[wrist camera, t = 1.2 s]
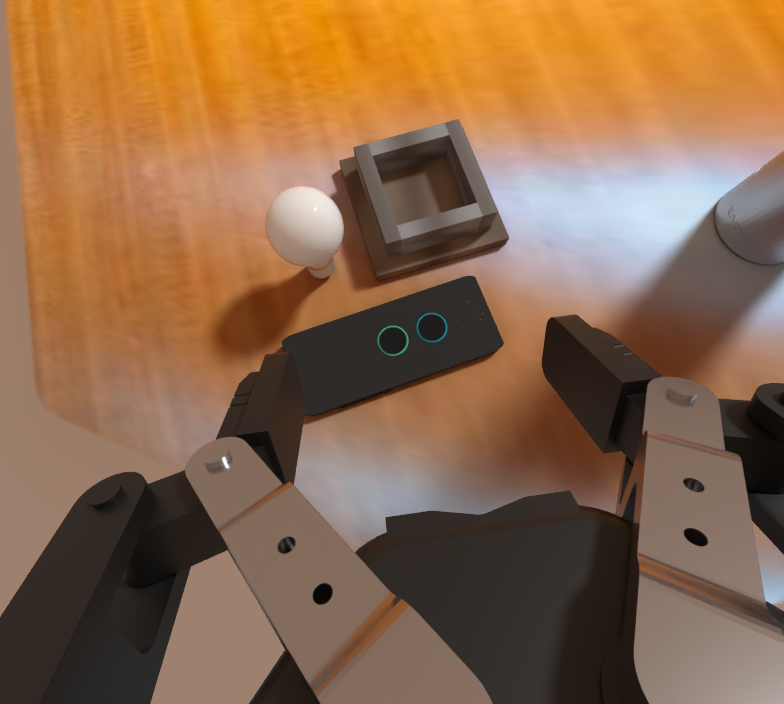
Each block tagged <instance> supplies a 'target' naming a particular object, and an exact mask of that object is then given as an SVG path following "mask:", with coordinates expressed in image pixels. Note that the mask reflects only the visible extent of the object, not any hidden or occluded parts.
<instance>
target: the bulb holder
mask: <svg viewBox="0 0 784 704" xmlns="http://www.w3.org/2000/svg"><path fill="white" fill-rule="evenodd" d="M354 154H355V156H354V157H351V158H347V159H343V160H340V161H339V162H340V167H341V171H342V174H343V177H344V180H345V183H346V186H347V189H348V192H349V195H350V198H351V201H352V205H353V208H354V211H355V214H356V217H357V220H358V223H359V226H360V229H361V232H362V235H363V238H364V241H365V244H366V247H367V250H368V254H369V257H370V260H371V263H372V266H373V269H374V272H375V275H376V278H377V281H380V280H384V279H387V278H390V277H394V276H397V275H401V274H404V273H408V272H411V271H414V270H418V269H421V268H425V267H428V266H431V265H435V264H438V263H442V262H445V261H448V260H452V259H455V258H459V257H462V256H466V255H469V254H472V253H476V252H479V251H483V250H486V249H489V248H493V247H496V246H500V245H503V244H506V242H507V241H508V239H509V236H508V234H507V231H506V229H505V227H504V224H503V222H502V220H501V217H500V215H499V212H498V210H497V208H496V205H495V203H494V201H493V198H492V196H491V194H490V191H489V189H488V187H487V184H486V182H485V179H484V177H483V175H482V172H481V170H480V168H479V165H478V163H477V161H476V158H475V156H474V153H473V151H472V149H471V146H470V144H469V142H468V139H467V137H466V135H465V132H464V130H463V127H462V126H461V124H460V121H459V119H457V120H453V121H450V122H446V123H442V124H438V125H435V126H431V127H427V128H424V129H420V130H416V131H412V132H409V133H405V134H401V135H398V136H394V137H390V138H386V139H383V140H379V141H375V142H372V143H368V144H364V145H360V146H357V147H354Z"/></svg>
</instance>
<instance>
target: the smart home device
mask: <svg viewBox="0 0 784 704" xmlns="http://www.w3.org/2000/svg"><path fill="white" fill-rule="evenodd" d="M503 344H504V343H503V340H502V338H501V336H500V333H499V331H498V329H497V326H496V324H495V322H494V319H493V317H492V315H491V312H490V310H489V308H488V306H487V303H486V301H485V299H484V296H483V294H482V292H481V289H480V287H479V285H478V283H477V280H476V278H475V277H474V276H465V277H462V278H459V279H456V280H453V281H450V282H447V283H444V284H441V285H438V286H435V287H432V288H429V289H426V290H423V291H420V292H417V293H414V294H411V295H408V296H405V297H402V298H399V299H396V300H393V301H390V302H387V303H385V304H382V305H379V306H376V307H373V308H370V309H367V310H364V311H361V312H358V313H355V314H352V315H349V316H346V317H343V318H340V319H337V320H334V321H331V322H328V323H325V324H322V325H319V326H316V327H313V328H310V329H307V330H304V331H301V332H298V333H295V334H293V335H290V336H288V337H286V338H285V339H284V340H283V341H282V345H283V350H284V352H289V351H290V352H292V354H293V356H294V360H295V363H296V367H297V370H298V374H299V378H300V381H301V385H302V389H303V392H304V398H305V414H304V415H307V416H316V415H320V414H323V413H325V412H328V411H331V410H334V409H337V408H340V407H341V408H344V407H346V406H349V405H352V404H355V403H358V402H360V401H363V400H366V398H367V399H369V398H372V397H375V396H377V395H380V394H383V393H386V392H389V391H391V389H393V388H396V387H399V386H402V385H404V384H407V383H410V382H413V381H416V380H419V379H421V378H424V377H427V376H430V375H433V374H436V373H438V372H441V371H444V370H447V369H450V368H452V367H455V366H458V365H461V364H464V363H467V362H469V361H472V360H475V359H478V358H481V357H484V356H486V355H489V354H492V353H494V352H496V351H497V350H498V349H500V348H501V347H502V346H503Z"/></svg>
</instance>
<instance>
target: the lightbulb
mask: <svg viewBox="0 0 784 704" xmlns="http://www.w3.org/2000/svg"><path fill="white" fill-rule="evenodd" d="M265 229H266V234H267V238H268V240H269V242H270V244H271V246H272V248H273V249H274V250H275V252H276V253H277V254H278V255H279V256H280V257H281V258H283V259H284V260H286V261H287V262H289V263H291V264H294V265H297V266H302V267H307V268H308V270H309V272H310V273H311V275H313V276H314V277H316V278H326V277H328V276H330V275H331V274H332V272H333V271H334V268H335V264H334V260H333V256H334V255H335V254H336V252H337V251H338V249H339V248H340V245H341V243H342V240H343V235H344V224H343V219H342V215H341V213H340V210H339V209H338V207H337V205H336V204H335V202H334V201H333V200H332V199H331V198H330V197H329V196H328V195H326V194H325V193H324V192H322V191H320V190H318V189H316V188H313V187H308V186H296V187H291V188H288V189H286V190H284V191H282V192H281V193H279V194H278V195H277V196H276V197H275V198H274V199H273V201H272V202H271V204H270V205H269V207H268V210H267V213H266V218H265Z"/></svg>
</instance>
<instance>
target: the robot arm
mask: <svg viewBox="0 0 784 704" xmlns="http://www.w3.org/2000/svg"><path fill="white" fill-rule="evenodd" d="M715 223H716V228H717V230H718V232H719V235H720V237H721V238H722V240H723V241H724V242H725V244H726V245H727V246H728V247H729V248H730V249H731V250H732V251H733V252H735V253H736V254H738V255H739V256H741V257H742V258H745V259H747V260H749V261H751V262H755V263H759V264H767V265H772V264H780V263H783V262H784V151H783V152H781V153H780V154H779V155H777V156H776V157H775V158H773V159H772V160H771V161H769V162H768V163H767V164H765V165H764V166H763V167H761V168H760V169H758V170H757V171H756V172H754V173H753V174H752V175H750V176H749V177H748V178H746V179H745V180H744V181H742V182H741V183H740V184H738V185H737V186H736V187H734V188H733V189H732V190H730V191H729V192H728V193H726V194H725V195H724V196H723V197H722V198H721V200H720V201H719V203H718V204H717V208H716V211H715ZM542 368H543V372H544V375H545V377H546V379H547V380H548V382H549V383H550V384H551V386H552V387H553V388H554V389H555V391H556V392H557V393H558V395H559V396H560V397H561V399H562V400H563V401H564V403H565V404H566V405H567V406H568V408H569V409H570V410H571V412H572V413H573V414H574V416H575V417H576V418H577V419H578V421H579V422H580V423H581V425H582V426H583V427H584V429H585V430H586V431H587V432H588V434H589V435H590V436H591V438H592V439H593V440H594V442H595V443H596V444H597V446H598V447H599V448H600V449H601V451H602V452H603V453H609V452H616V451H623V453H624V454H625V458H624V461H623V465H622V471H621V478H620V485H619V492H618V499H617V506H616V512H615V514H612V513H610V512H607V511H603V510H600V509H596V508H592V507H586V506H580V505H578V504H577V502H576V501H575V499H574V497H573V496H572V494H571V492H570V491H563V492H556V493H549V494H542V495H536V496H529V497H524V498H521V499H519V500H517V501H514V502H512V503H510V504H507V505H505V506H502V507H500V508H498V509H495V510H493V511H491V512H488V513H486V514H481V515H475V514H463V513H451V512H440V511H426V512H420V513H413V514H406V515H399V516H392V517H386V528H387V533H384V534H382V535H380V536H378V537H376V538H374V539H372V540H371V541H369V542H367V543H366V544H365V545H363V546H362V547H361V548H359V549H358V550H357V551H356V552H354V551H353V550H352V549H351V548H350V547H349V546H348V544H347V543H346V542H345V541H344V540H343V539H342V538H341V537H340V536H339V534H338V533H337V532H336V531H335V530H334V529H333V528H332V527H331V526H330V524H329V523H328V522H327V521H326V520H325V519H324V518H323V517H322V516H321V514H320V513H319V512H318V511H317V510H316V509H315V508H314V507H313V506H312V505H311V503H310V502H309V501H308V500H307V499H306V498H305V497H304V496H303V495H302V493H301V492H300V491H299V490H298V489H297V488H296V487H295V486H294V479H295V473H296V466H297V460H298V453H299V447H300V440H301V434H302V427H303V421H304V414H305V398H304V392H303V389H302V385H301V381H300V378H299V374H298V370H297V367H296V363H295V360H294V356H293V354H292V352H290V351H289V352H281V353H274V354H267V355H265V357H264V360H263V363H262V365H261V368H260V371H259V372H252V373H250V374H249V375H248V376H246V377H245V378H244V379H243V380H242V381H241V382H240V383H239V385H238V388H237V390H236V392H235V395H234V398H233V400H232V402H231V404H230V408H229V409H228V411H227V414H226V416H225V418H224V421H223V423H222V426H221V428H220V430H219V433H218V435H217V437H216V440H214V441H212V442H210V443H207V444H206V445H204V446H202V447H201V448H200V449H198V450H197V451H196V452H195V453H194V454H193V455H192V456H191V457H190V459H189V460H188V462H187V464H186V468H185V470H184V471H182V472H179V473H177V474H174V475H171V476H169V477H166V478H164V479H161V480H158V481H155V482H153V483H150V484H148V483H147V482H146V480H145V479H144V477H143V476H142V475H141V474H139V473H136V472H124V473H120V474H116V475H113V476H110V477H108V478H106V479H104V480H102V481H100V482H98V483H97V484H95V485H94V486H92V487H91V488H90V489H88V490H87V491H86V492H85V493H84V494H82V496H81V497H80V498H79V499H78V500H77V501H76V503H75V504H74V505H73V507H72V508H71V510H70V512H69V513H68V514H67V516H66V518H65V519H64V521H63V522H62V524H61V525H60V527H59V528H58V530H57V531H56V533H55V534H54V536H53V537H52V539H51V540H50V542H49V543H48V545H47V546H46V548H45V550H44V551H43V553H42V554H41V556H40V557H39V559H38V560H37V562H36V563H35V565H34V566H33V568H32V569H31V571H30V572H29V574H28V575H27V577H26V579H25V580H24V582H23V583H22V585H21V586H20V588H19V589H18V591H17V592H16V594H15V595H14V597H13V598H12V600H11V601H10V603H9V605H8V606H7V607H6V609H5V611H4V612H3V614H2V615H1V617H0V704H150V702H151V699H152V696H153V692H154V689H155V685H156V682H157V679H158V675H159V672H160V669H161V665H162V662H163V659H164V655H165V652H166V649H167V645H168V642H169V639H170V635H171V632H172V628H173V625H174V622H175V618H176V615H177V612H178V608H179V605H180V602H181V598H182V595H183V592H184V588H185V585H186V581H187V578H188V574H189V571H190V568H191V566H193V565H195V564H197V563H199V562H202V561H204V560H206V559H208V558H211V557H213V556H215V555H217V554H220V553H222V552H224V551H226V550H228V551H229V553H230V555H231V557H232V559H233V560H234V562H235V564H236V565H237V567H238V569H239V570H240V572H241V574H242V576H243V578H244V579H245V581H246V582H247V584H248V586H249V588H250V590H251V591H252V593H253V595H254V596H255V598H256V600H257V602H258V603H259V605H260V607H261V609H262V610H263V612H264V613H265V616H266V617H267V619H268V621H269V622H270V624H271V626H272V628H273V630H274V631H275V633H276V635H277V636H278V638H279V640H280V642H281V644H282V645H283V647H284V649H285V651H284V652H283V654H282V655H281V657H280V658H279V660H278V661H277V663H276V664H275V666H274V667H273V669H272V670H271V672H270V673H269V675H268V676H267V678H266V679H265V681H264V682H263V684H262V685H261V687H260V688H259V690H258V691H257V693H256V694H255V696H254V697H253V699H252V700H251V702H250V703H249V704H784V611H782V610H781V609H779V608H777V607H775V606H774V605H772V604H770V603H769V602H767V601H765V597H764V591H763V585H762V579H761V573H760V567H759V561H758V555H757V549H756V543H755V537H754V531H753V525H752V521H753V522H754V523H755V524H756V525H757V526H758V527H759V529H760V530H761V531H762V532H763V533H764V534H765V535H766V536H767V537H768V538H769V539H770V540H771V541H772V542H773V543H774V545H775V546H776V547H777V548H778V549H779V550H780V551H781V552H782V553H783V554H784V384H783V383H769V384H764V385H761V386H759V387H758V388H757V389H756V391H755V393H754V395H753V397H752V399H751V401H744V400H730V399H718V398H717V396H716V395H715V394H714V393H713V392H712V391H711V390H709V389H708V388H706V387H705V386H703V385H701V384H699V383H696V382H694V381H691V380H688V379H683V378H678V377H663V376H661V375H660V374H659V373H658V372H656V371H655V370H654V369H653V368H651V367H650V366H649V365H648V364H647V363H645V362H644V361H643V360H642V359H640V358H639V357H638V356H637V355H635V354H634V353H633V354H632V351H631V350H629V349H628V348H627V347H626V346H622V343H621V342H619V341H618V340H617V339H616V338H615V337H613V336H612V335H611V334H608V333H606V332H604V331H601V330H599V329H597V328H595V327H594V328H592V327H591V326H590V325H588V324H587V323H586V322H585V321H584V320H583V319H581V318H580V317H579V316H578V315H566V316H559V317H552V318H550V319H549V320H548V322H547V326H546V333H545V341H544V349H543V356H542Z"/></svg>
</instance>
